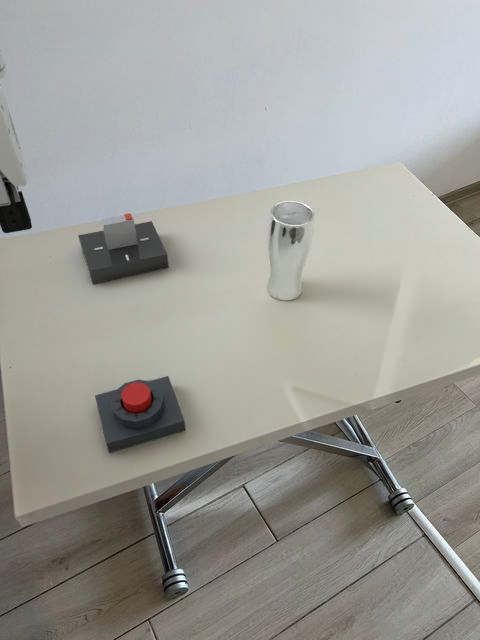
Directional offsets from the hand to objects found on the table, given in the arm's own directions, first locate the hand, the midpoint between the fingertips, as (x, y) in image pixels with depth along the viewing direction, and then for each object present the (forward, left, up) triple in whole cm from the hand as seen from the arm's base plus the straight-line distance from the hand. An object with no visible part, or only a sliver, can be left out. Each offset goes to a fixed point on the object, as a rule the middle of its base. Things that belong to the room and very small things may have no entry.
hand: (17, 227), depth 61 cm
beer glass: (+34, -14, -22) cm, 43 cm away
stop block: (+1, -17, -22) cm, 28 cm away
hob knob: (+20, +11, -19) cm, 30 cm away
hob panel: (+20, +11, -22) cm, 32 cm away
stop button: (+1, -17, -19) cm, 25 cm away
